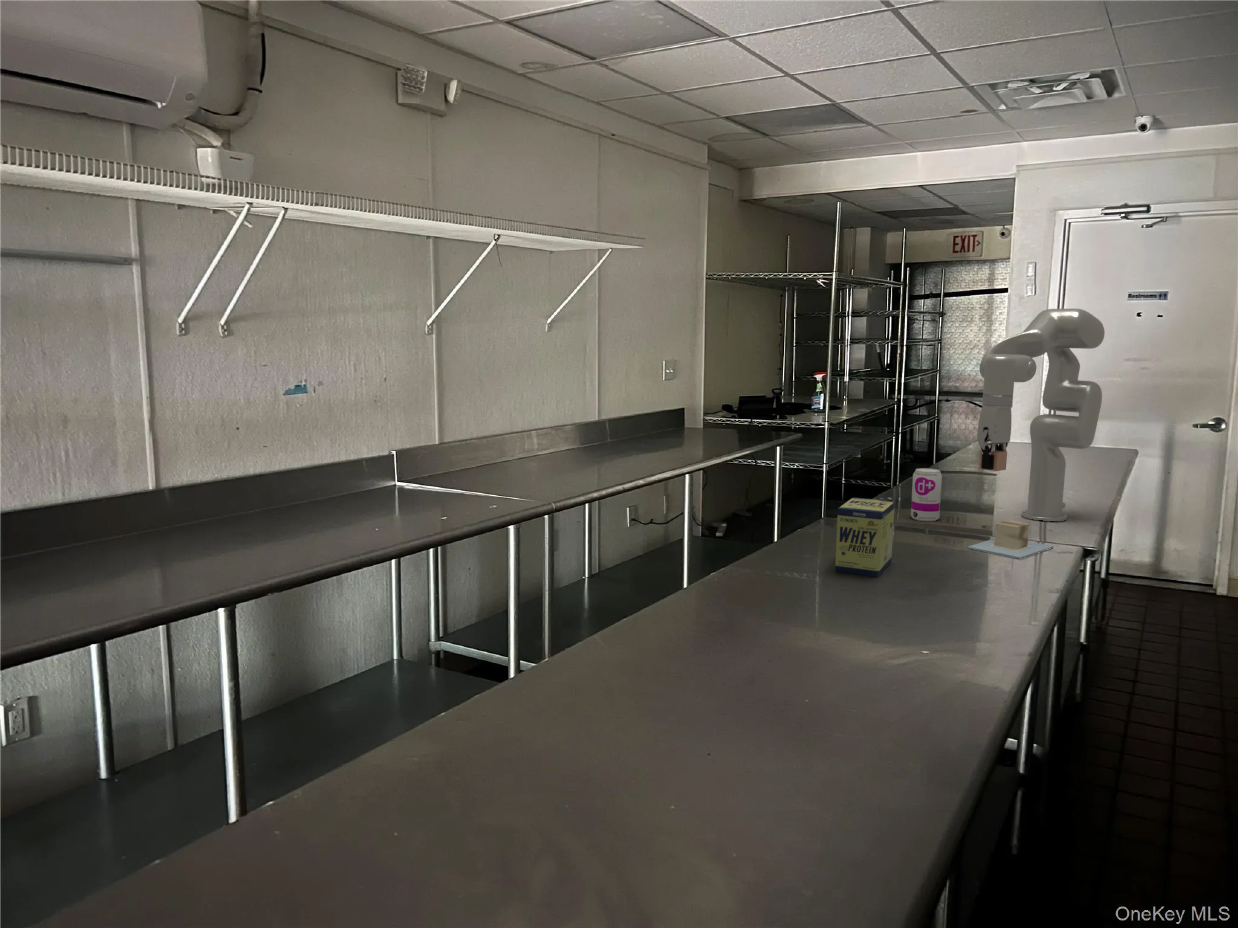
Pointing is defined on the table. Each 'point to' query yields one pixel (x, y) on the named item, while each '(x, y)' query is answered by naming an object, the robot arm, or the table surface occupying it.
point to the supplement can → (926, 494)
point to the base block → (1011, 534)
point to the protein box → (864, 536)
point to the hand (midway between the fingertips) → (992, 467)
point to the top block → (997, 460)
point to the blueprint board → (1020, 553)
